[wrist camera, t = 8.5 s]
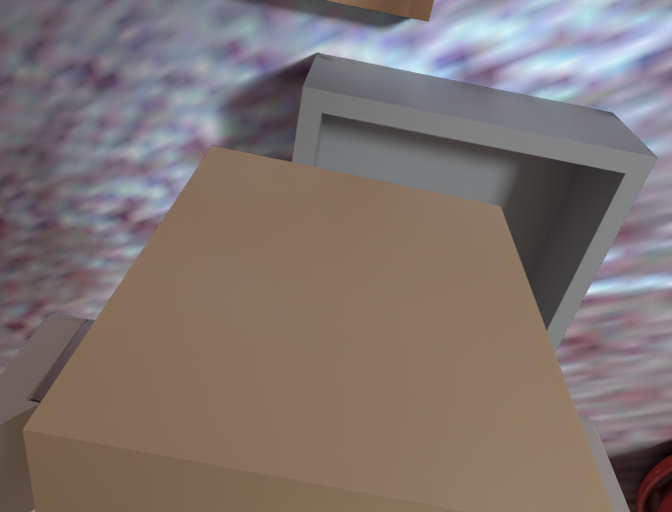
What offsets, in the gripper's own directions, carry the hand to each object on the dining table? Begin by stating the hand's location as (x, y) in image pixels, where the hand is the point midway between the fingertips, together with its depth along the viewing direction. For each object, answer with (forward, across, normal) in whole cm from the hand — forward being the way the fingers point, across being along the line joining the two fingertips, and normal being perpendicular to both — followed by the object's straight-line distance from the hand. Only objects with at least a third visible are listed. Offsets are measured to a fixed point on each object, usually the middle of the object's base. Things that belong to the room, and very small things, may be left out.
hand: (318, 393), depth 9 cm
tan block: (+3, 0, 0) cm, 3 cm away
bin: (+24, -6, +9) cm, 27 cm away
